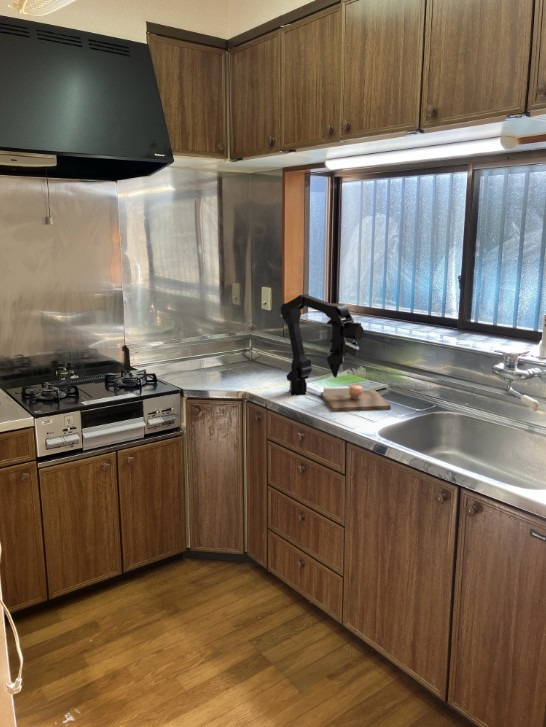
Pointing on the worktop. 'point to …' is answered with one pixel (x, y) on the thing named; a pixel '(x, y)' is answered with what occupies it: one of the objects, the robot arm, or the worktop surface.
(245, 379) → the worktop surface
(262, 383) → the worktop surface
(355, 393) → the orange and white spoon
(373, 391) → the post board
